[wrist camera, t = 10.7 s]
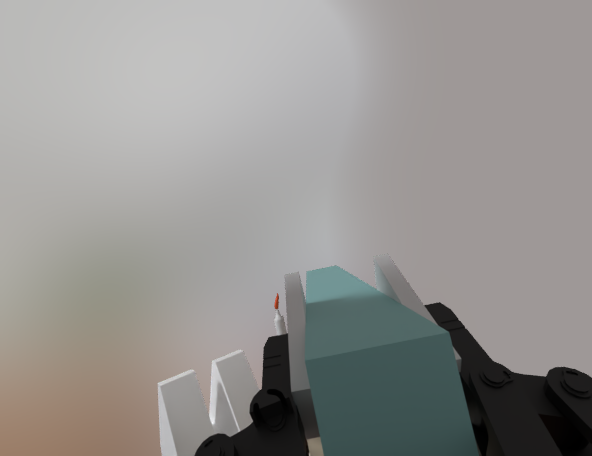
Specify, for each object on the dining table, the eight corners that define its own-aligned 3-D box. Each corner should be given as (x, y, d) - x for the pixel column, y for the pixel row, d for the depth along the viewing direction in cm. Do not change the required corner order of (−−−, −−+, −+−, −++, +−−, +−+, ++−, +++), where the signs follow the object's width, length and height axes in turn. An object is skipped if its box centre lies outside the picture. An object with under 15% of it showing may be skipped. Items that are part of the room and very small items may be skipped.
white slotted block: (170, 507, 54) (148, 372, 56) (243, 458, 63) (223, 343, 65) (203, 591, 38) (172, 401, 40) (294, 510, 48) (265, 358, 50)
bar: (335, 514, 8) (304, 360, 8) (312, 301, 37) (306, 271, 38) (486, 486, 7) (449, 332, 8) (342, 295, 37) (336, 265, 38)
